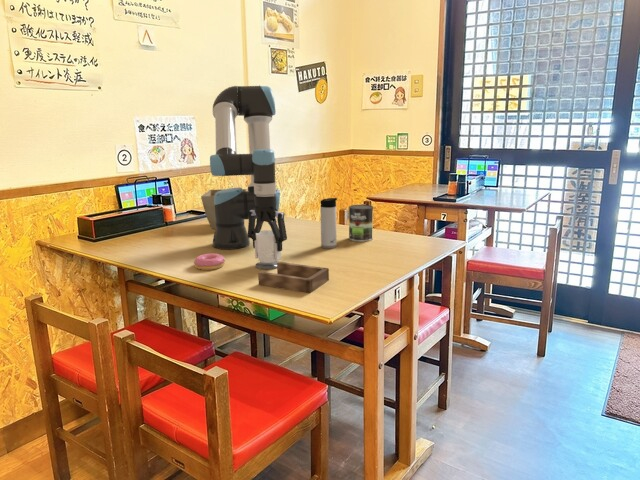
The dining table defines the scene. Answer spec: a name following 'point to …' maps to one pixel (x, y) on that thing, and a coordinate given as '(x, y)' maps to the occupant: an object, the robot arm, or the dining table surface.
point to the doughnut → (209, 261)
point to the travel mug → (328, 223)
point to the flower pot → (211, 206)
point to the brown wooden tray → (295, 277)
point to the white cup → (265, 246)
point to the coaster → (267, 265)
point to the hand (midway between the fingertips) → (268, 258)
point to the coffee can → (360, 223)
